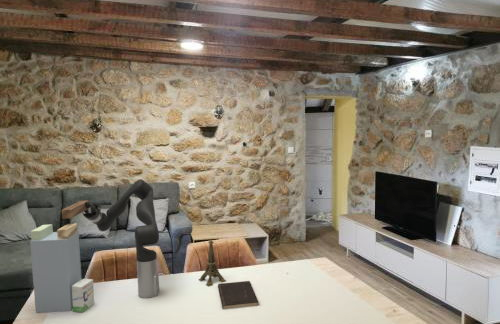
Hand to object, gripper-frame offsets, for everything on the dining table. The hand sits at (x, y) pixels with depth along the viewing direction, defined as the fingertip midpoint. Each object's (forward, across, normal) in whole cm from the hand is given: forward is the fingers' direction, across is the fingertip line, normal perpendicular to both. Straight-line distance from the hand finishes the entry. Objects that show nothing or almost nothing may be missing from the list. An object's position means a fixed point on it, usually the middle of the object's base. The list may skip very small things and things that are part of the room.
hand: (81, 203), depth 184 cm
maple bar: (+13, +2, +19) cm, 23 cm away
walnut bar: (+4, 0, +6) cm, 7 cm away
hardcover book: (-4, +76, +48) cm, 90 cm away
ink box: (0, +8, +49) cm, 50 cm away
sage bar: (+13, -10, +19) cm, 25 cm away
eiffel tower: (-20, +64, +38) cm, 77 cm away
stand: (-3, -4, +47) cm, 47 cm away
